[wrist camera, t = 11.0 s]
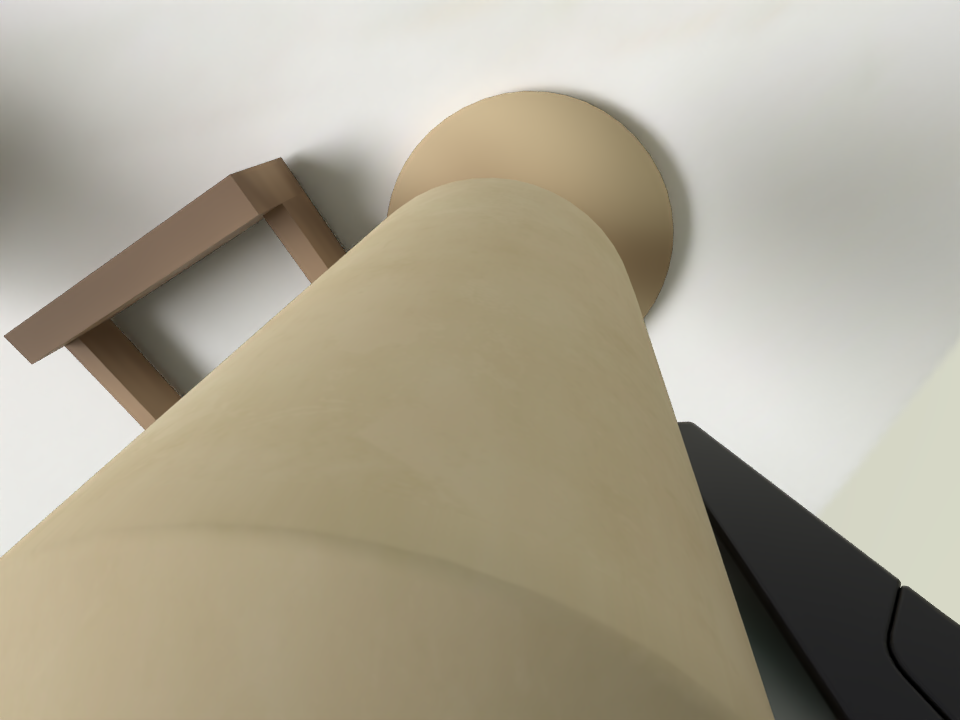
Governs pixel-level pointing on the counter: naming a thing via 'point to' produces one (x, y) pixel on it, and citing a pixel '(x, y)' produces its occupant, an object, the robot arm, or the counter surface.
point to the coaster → (556, 171)
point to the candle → (400, 507)
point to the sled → (158, 259)
